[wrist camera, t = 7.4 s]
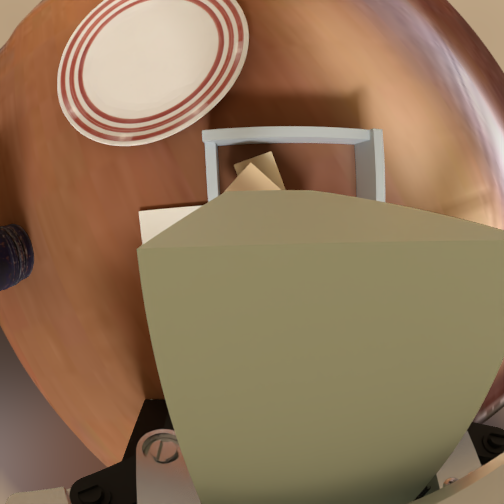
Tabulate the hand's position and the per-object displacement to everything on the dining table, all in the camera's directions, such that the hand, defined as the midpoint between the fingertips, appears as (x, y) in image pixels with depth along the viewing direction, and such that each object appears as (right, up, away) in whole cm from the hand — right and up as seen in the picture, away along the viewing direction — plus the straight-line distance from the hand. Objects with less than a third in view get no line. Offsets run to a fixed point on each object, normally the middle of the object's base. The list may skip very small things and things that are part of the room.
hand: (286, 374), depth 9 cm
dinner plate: (-15, +31, +21) cm, 40 cm away
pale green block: (0, +2, +7) cm, 7 cm away
